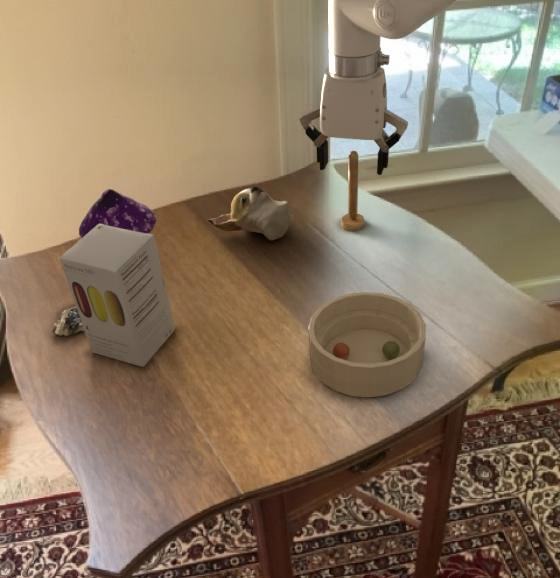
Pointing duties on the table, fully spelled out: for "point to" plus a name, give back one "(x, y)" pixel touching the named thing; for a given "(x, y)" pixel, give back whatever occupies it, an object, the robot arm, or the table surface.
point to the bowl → (366, 343)
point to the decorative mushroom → (118, 214)
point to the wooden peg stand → (352, 197)
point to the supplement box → (119, 293)
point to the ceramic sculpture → (256, 214)
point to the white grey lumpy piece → (68, 322)
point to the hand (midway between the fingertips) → (352, 168)
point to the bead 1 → (341, 350)
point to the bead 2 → (390, 349)
